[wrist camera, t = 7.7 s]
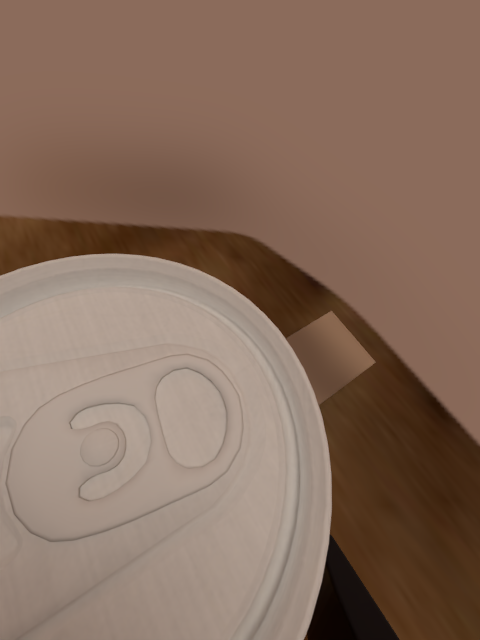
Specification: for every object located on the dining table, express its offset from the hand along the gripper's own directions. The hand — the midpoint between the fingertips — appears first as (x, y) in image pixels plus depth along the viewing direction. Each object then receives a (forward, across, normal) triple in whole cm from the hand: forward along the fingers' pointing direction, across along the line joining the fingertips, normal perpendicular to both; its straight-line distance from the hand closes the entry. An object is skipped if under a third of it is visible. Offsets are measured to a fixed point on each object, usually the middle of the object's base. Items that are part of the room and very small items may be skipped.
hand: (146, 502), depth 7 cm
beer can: (+8, 0, +6) cm, 10 cm away
